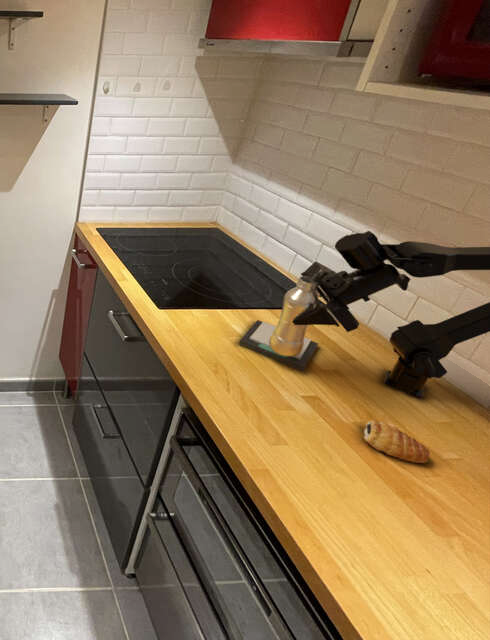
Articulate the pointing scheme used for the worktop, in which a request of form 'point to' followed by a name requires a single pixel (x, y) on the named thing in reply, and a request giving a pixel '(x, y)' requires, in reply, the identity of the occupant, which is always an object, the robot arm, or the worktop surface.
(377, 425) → the pastry
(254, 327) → the scale
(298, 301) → the plastic bottle
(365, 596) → the worktop surface
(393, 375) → the robot arm
